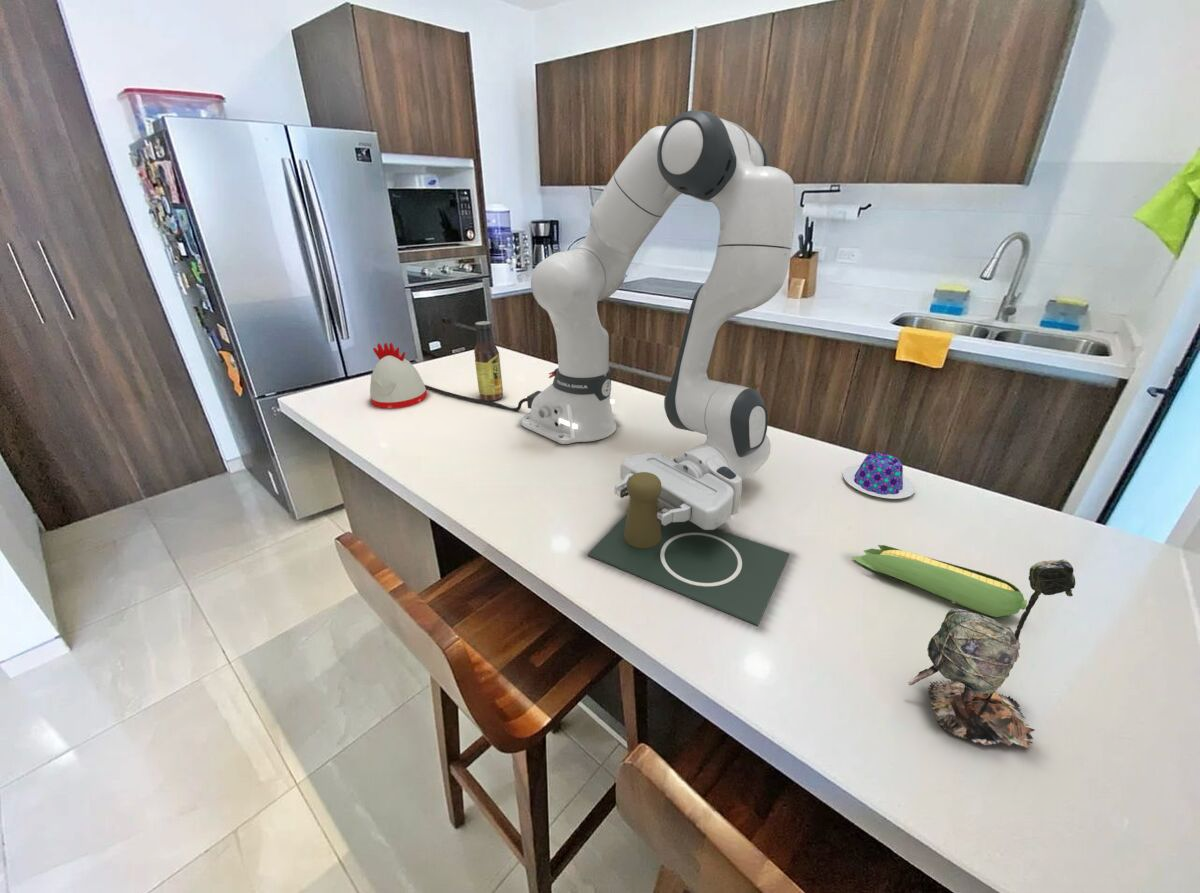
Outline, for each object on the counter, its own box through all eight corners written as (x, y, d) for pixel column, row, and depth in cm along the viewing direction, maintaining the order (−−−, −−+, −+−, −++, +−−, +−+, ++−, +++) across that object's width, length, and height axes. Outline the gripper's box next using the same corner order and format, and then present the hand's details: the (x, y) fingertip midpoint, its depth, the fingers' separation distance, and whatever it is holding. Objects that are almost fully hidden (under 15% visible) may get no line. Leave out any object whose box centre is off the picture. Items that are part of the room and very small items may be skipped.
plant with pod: (906, 659, 59) (961, 522, 49) (1026, 707, 53) (1114, 562, 44) (900, 714, 53) (962, 569, 43) (1035, 774, 47) (1139, 623, 38)
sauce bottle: (501, 402, 130) (492, 326, 120) (477, 402, 130) (467, 326, 120) (505, 392, 135) (497, 319, 126) (482, 392, 136) (473, 319, 126)
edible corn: (1017, 633, 62) (1031, 606, 60) (846, 568, 72) (853, 544, 70) (1017, 607, 66) (1031, 581, 63) (854, 550, 76) (861, 526, 74)
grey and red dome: (388, 387, 140) (377, 335, 133) (435, 389, 138) (425, 336, 131) (361, 407, 128) (346, 350, 121) (411, 409, 126) (400, 352, 119)
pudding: (881, 508, 86) (889, 482, 83) (827, 475, 95) (833, 451, 93) (929, 492, 90) (938, 467, 87) (873, 462, 100) (879, 439, 97)
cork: (659, 550, 76) (663, 489, 71) (620, 545, 77) (621, 485, 72) (663, 526, 81) (666, 468, 76) (626, 522, 82) (627, 465, 77)
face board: (587, 555, 76) (587, 553, 75) (637, 504, 88) (637, 502, 87) (757, 625, 63) (758, 623, 63) (788, 555, 75) (789, 552, 75)
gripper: (654, 436, 89) (594, 461, 81) (751, 483, 75) (689, 518, 67) (653, 467, 92) (595, 494, 84) (745, 517, 78) (686, 554, 70)
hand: (637, 505), depth 76 cm, fingers open, 8 cm apart
